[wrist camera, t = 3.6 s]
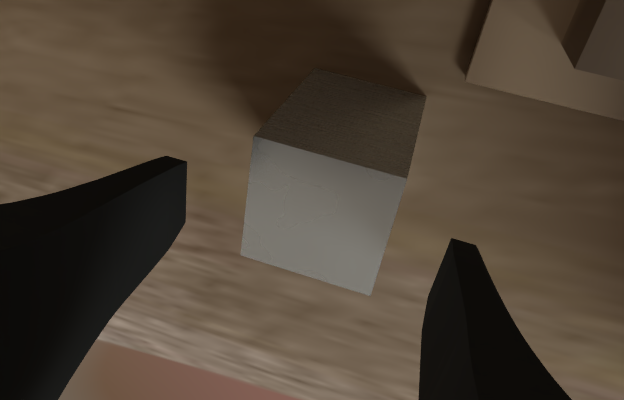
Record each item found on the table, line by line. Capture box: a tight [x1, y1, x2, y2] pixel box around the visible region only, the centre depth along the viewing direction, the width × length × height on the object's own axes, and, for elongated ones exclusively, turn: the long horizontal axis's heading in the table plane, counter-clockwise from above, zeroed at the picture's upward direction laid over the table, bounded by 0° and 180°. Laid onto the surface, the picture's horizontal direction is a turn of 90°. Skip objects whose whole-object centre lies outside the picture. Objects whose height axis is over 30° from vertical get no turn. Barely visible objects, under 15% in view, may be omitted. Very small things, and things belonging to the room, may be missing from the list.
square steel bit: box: [241, 68, 426, 296], centre depth 16 cm, size 4×4×6 cm
